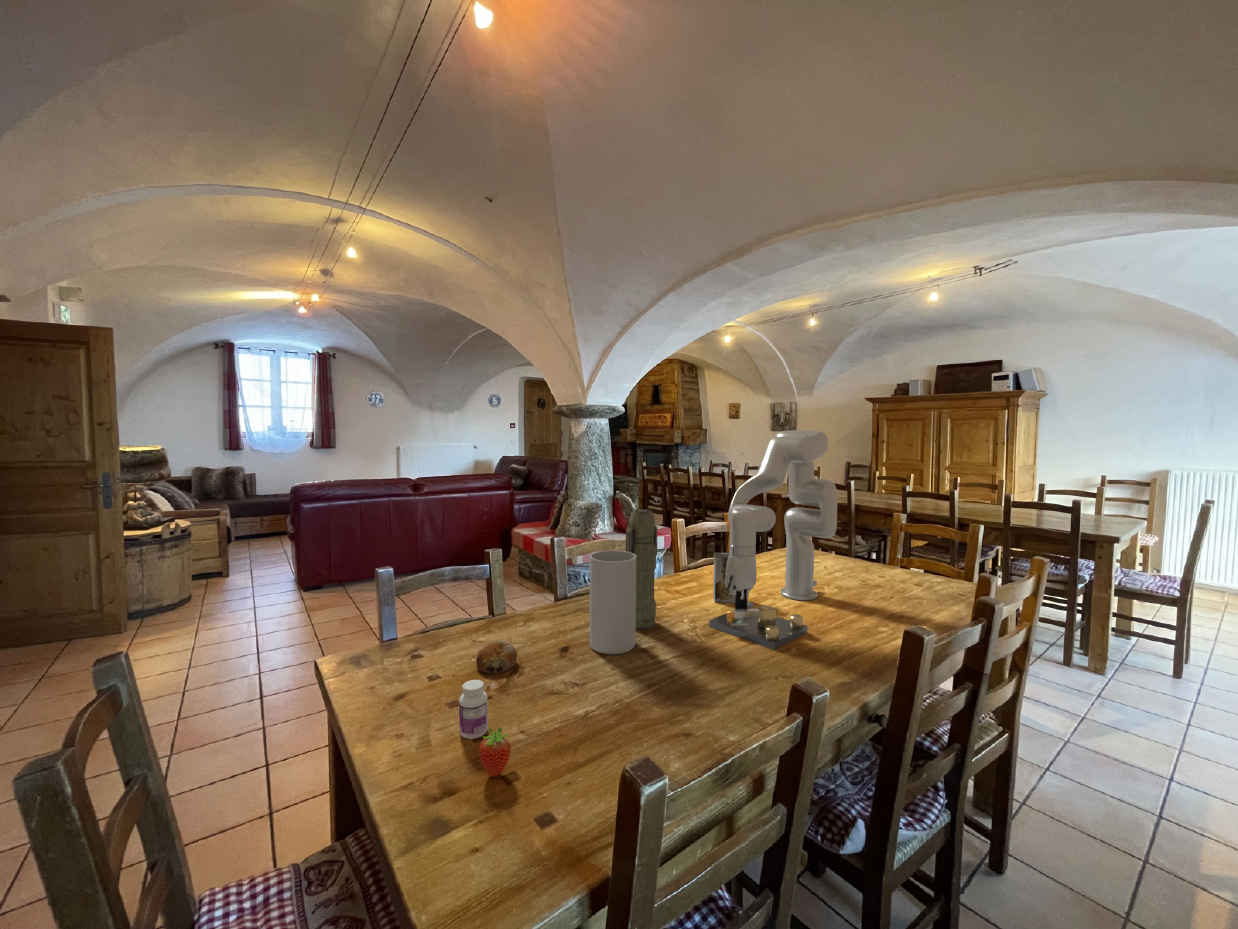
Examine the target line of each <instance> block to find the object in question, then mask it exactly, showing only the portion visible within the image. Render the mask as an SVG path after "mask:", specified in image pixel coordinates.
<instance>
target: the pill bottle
mask: <svg viewBox="0 0 1238 929" xmlns="http://www.w3.org/2000/svg"><path fill="white" fill-rule="evenodd" d="M484 685H485V684H484V681H482V680H480V679H471V680H467V681H466V682H464V683H463V684H462V691H461V692H462V693H461V695H460V697H459V699H458V710H459V711H458V713H459V714H458V715H459V716H458V718H459V733H460V735H461V737H463V738H465V739H467V740H474V739H478V738H481V737H482V736H484V735H485V734H486V733H487V731H488V729H489V717H488V716H489V710H488V709H489V708H488V703H489V702H488V695H487V693H486V691H485V686H484Z"/></svg>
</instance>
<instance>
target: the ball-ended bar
mask: <svg viewBox="0 0 1238 929" xmlns="http://www.w3.org/2000/svg"><path fill="white" fill-rule="evenodd" d="M726 613H727V622H728V623H735V618H757V617H758V626H759V627H761V628H765V629H766V626H769V625H772V626H776V616H777V608H775V607H774V606H770V605H769V606H768V605H761V606H759V607H757V608H754V609H735V608H734V609H728V610H726Z"/></svg>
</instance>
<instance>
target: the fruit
mask: <svg viewBox="0 0 1238 929" xmlns="http://www.w3.org/2000/svg"><path fill="white" fill-rule="evenodd" d="M502 731H503V728H502V727H499V728H498V729H497V730H496V729H495V730H494V731H493V729H492V728H491V727H489V733H490V734H489V735H487V736H486V735H485V736H484V735H482V736H481V737H482V738H483V739H482V741H481V743H480V745H479V749H478V756H479V760H480V763H481V765H482V766H483V769H484V770H485V772H486V774H487V775H488V776H490V777H493V778H494V777H498V776H499V775H500V774H502V772H503V771H504V770H505V768H506V767H507V764H508V762H509V760H510V756H511V744H510V741H509V739H507V738H506V737H508V735H509V733H507V734H502V733H503V732H502ZM501 734H502V735H501Z"/></svg>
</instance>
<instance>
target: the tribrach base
mask: <svg viewBox="0 0 1238 929" xmlns="http://www.w3.org/2000/svg"><path fill="white" fill-rule="evenodd" d="M754 606H755V605H754V603H752V601H748V600H747V609H755V608H754ZM708 621H709V623H708V625H709V628H713V629H716V630H718V631H721V632H723V633H726V634H729V635H732V636H735V637H738V638H740V639H743V640H746V641H749V642H751V643H754V644H757V645H760V646H761V647H764V648H768V649H771V650H774V651H776V650H777V649H779V648H781V647H783V646H784V645H786V644H789V643H791V642H792V641H795V640H796V639H798V638H800V637H802V636H804V635H805V634H807V633H808V628H809V626H808V625H805V624H804V622H803V621H804V617H803V616H802V615H800V614H794V613H793V614H790V615H789V619H786V618H783V617H779V616H777V615H776V626H772V625H769V626H766V629H765V628H761V627H759V626H758V617H757V618H735V623H728V622H727V612H726V613H724V614H721V615H719V616H717V617H714V618H711V619H709V620H708Z"/></svg>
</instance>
